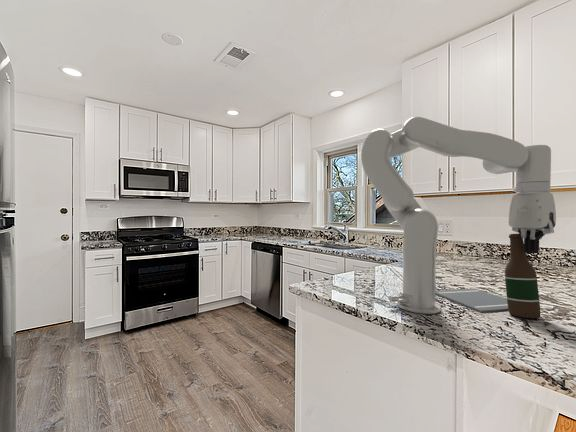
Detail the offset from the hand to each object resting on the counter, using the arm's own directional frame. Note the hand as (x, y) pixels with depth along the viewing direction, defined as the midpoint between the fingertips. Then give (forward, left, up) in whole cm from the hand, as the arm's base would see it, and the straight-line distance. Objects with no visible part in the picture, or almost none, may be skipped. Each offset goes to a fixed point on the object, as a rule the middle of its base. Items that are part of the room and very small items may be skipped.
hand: (531, 252), depth 81 cm
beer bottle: (0, +2, -19) cm, 19 cm away
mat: (0, +18, -19) cm, 26 cm away
